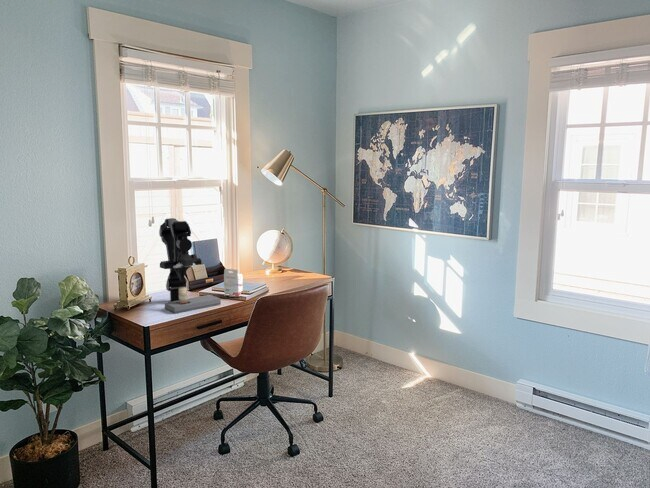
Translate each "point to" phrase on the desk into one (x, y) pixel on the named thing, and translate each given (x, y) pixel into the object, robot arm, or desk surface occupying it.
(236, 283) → the ink cartridge box
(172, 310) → the board
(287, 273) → the desk surface
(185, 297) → the beech peg
